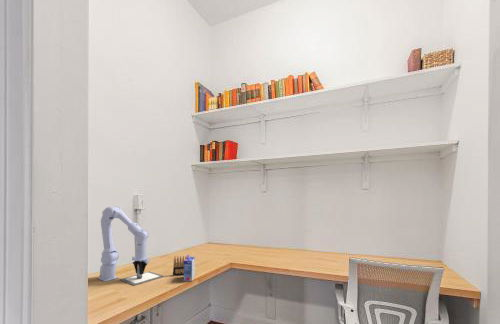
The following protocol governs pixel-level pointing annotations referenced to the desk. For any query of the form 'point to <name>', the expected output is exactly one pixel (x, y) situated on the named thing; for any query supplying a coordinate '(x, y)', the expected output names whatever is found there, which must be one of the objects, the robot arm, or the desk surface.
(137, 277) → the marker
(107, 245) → the robot arm
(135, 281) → the writing mat
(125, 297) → the desk surface
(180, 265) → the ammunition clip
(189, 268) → the blue drink carton
